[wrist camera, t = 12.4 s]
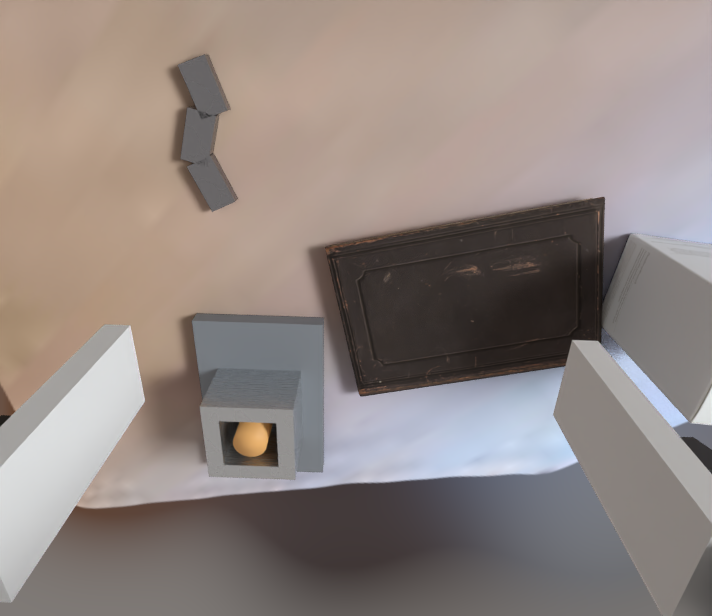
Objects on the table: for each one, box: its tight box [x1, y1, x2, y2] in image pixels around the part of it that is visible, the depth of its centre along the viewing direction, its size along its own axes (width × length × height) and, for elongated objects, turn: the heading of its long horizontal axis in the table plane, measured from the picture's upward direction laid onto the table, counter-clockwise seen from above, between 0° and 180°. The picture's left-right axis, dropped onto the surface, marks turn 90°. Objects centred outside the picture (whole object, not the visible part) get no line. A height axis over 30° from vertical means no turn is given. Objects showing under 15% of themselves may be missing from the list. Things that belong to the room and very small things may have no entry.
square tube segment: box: [200, 368, 303, 480], centre depth 46 cm, size 8×8×6 cm
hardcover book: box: [325, 197, 605, 396], centre depth 45 cm, size 16×23×2 cm
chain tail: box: [178, 54, 238, 212], centre depth 39 cm, size 12×4×1 cm, turn 178°
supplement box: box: [602, 234, 712, 425], centre depth 38 cm, size 9×9×15 cm
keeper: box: [192, 313, 324, 472], centre depth 47 cm, size 18×12×8 cm, turn 178°
